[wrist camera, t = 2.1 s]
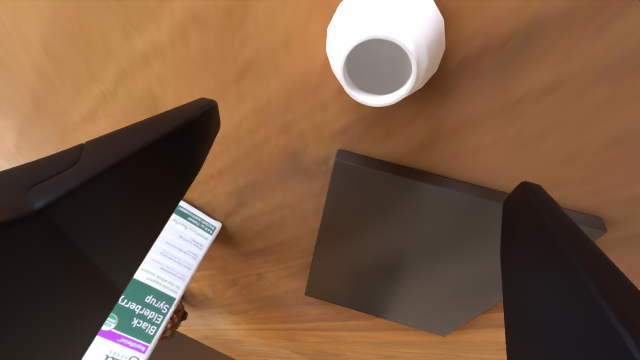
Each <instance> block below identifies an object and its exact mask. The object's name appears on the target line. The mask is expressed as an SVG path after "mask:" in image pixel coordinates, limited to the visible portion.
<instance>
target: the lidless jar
mask: <svg viewBox="0 0 640 360" xmlns="http://www.w3.org/2000/svg"><path fill="white" fill-rule="evenodd" d="M444 50H445V31H444V19H443V17H442V15H441V13H440V12H439V10H438V8H437V6H436V4H435V3H434V1H433V0H344V1H343V2H342V3H341V4H340V5H339V7H338V9H337V11H336V13H335V15H334V17H333V19H332V21H331V23H330V25H329V27H328V33H327V46H326V52H327V55H328V58H329V61H330V64H331V68H332V71H333V73H334V74H335V76H336V77H337V79H338V81H339V82H340V83H341V84H342V86H343V88H344V89H345V91H346V92H347V93H348V94H349V95H350V96H351V97H352V98H353V99H354V100H356V101H358V102H359V103H362V104H364V105H368V106H373V107H383V106H388V105H392V104H394V103H396V102H398V101H400V100H401V99H403V98H404V97H406V96H408V95H410V94H412V93H413V92H415V91H417V90H418V89H420V88H422V87H423V86H424V84H425V83H426V82H427V81H428V80H429V79H430V78H431V77H432V75H433V74H434V73H435V72H436V71H437V70H438V67H439V64H440V61H441V59H442V56H443V53H444Z"/></svg>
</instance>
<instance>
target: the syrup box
mask: <svg viewBox="0 0 640 360" xmlns="http://www.w3.org/2000/svg"><path fill="white" fill-rule="evenodd" d="M221 227H222V223H220V222H219V221H216V220H213V219H212V218H210V217H208V216H207V215H205V214H204V213H202V212H200V211H199V210H197V209H195V208H194V207H192V206H191V205H189V204H187V203H186V202H184V201H182V200H181V202H180V203H179V205H178V207H177V208H176V210H175V211H174V213H173V215H172V216H171V218H170V219H169V221H168V223H167V224H166V226H165V227H164V229H163V231H162V232H161V234H160V235H159V237H158V238H157V240H156V242H155V243H154V245H153V246H152V248H151V250H150V251H149V253H148V254H147V256H146V258H145V259H144V261H143V262H142V264H141V266H140V267H139V269H138V270H137V272H136V274H135V275H134V277H133V278H132V280H131V282H130V283H129V285H128V286H127V288H126V289H125V291H124V293H123V294H121V295H122V296H121V298H120V299H119V301H118V303H117V304H116V306H115V307H114V309H113V311H112V312H111V314H110V315H109V317H108V319H107V320H106V322H105V323H104V325H103V326H102V328H101V330H100V331H99V333H98V334H97V336H96V338H95V339H94V341H93V342H92V344H91V346H90V347H89V349H88V350H87V352H86V354H85V355H84V357H83V358H82V360H148V358H149V356H150V355H151V353H152V351H153V349H154V347H155V346H156V344H157V342H158V340H159V338H160V336H161V334H162V332H163V331H164V329H165V327H166V325H167V323H168V322H169V320H170V318H171V316H172V314H173V312H174V310H175V309H176V307H177V305H178V303H179V301H180V299H181V297H182V296H183V294H184V292H185V290H186V289H187V287H188V285H189V283H190V281H191V279H192V278H193V276H194V274H195V272H196V270H197V269H198V267H199V265H200V263H201V262H202V260H203V258H204V256H205V254H206V253H207V251H208V249H209V248H210V246H211V244H212V243H213V241H214V239H215V238H216V236H217V234H218V232H219V231H220V229H221Z"/></svg>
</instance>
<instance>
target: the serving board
mask: <svg viewBox="0 0 640 360" xmlns="http://www.w3.org/2000/svg"><path fill="white" fill-rule="evenodd" d="M508 195H509V194H507V193H503V192H500V191H496V190H492V189H488V188H484V187H481V186H477V185H473V184H469V183H465V182H461V181H458V180H454V179H450V178H446V177H442V176H439V175H435V174H431V173H427V172H423V171H419V170H416V169H412V168H408V167H404V166H400V165H397V164H393V163H389V162H385V161H381V160H377V159H374V158H370V157H366V156H362V155H358V154H355V153H351V152H347V151H343V150H339V149H338V151H337V154H336V157H335V160H334V165H333V169H332V174H331V178H330V183H329V187H328V192H327V196H326V201H325V206H324V210H323V215H322V219H321V224H320V228H319V233H318V237H317V242H316V246H315V251H314V255H313V260H312V264H311V269H310V273H309V278H308V282H307V287H306V291H305V295H306V296H309V297H313V298H316V299H319V300H323V301H326V302H329V303H333V304H336V305H339V306H343V307H346V308H349V309H353V310H356V311H359V312H363V313H366V314H369V315H373V316H376V317H379V318H383V319H386V320H389V321H393V322H396V323H399V324H403V325H406V326H409V327H413V328H416V329H419V330H423V331H426V332H429V333H433V334H436V335H439V336H443V337H445V336H447V335H448V334H450V333H451V332H453V331H455V330H456V329H458V328H459V327H461V326H462V325H464V324H465V323H467V322H469V321H470V320H472V319H473V318H475V317H476V316H478V315H479V314H481V313H483V312H484V311H486V310H487V309H489V308H490V307H492V306H493V305H495V304H497V303H498V302H500V301H501V300H503V293H502V278H501V263H500V240H501V224H502V208H503V203H504V200H505V199H506V197H507V196H508ZM562 209H563V210H564V211H565V212H566V213H567V214H568V215H569V216H570V217H571V218H572V219H573V220H574V222H575V223H576V224H577V225H578V226H579V227H580V228H581V229H582V230H583V231H584V232H585V233H586V234H587V235H588V236H589V237H590V239H591V240H592V241H595V240H596V239H598V238H599V237H601V236H602V235H604V234H605V233H607V232H608V231H607V229H606V226H605V224H604V222H603V220H602V218H599V217H595V216H591V215H587V214H584V213H580V212H576V211H572V210H568V209H565V208H562Z"/></svg>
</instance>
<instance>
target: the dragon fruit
mask: <svg viewBox="0 0 640 360" xmlns="http://www.w3.org/2000/svg"><path fill="white" fill-rule="evenodd" d="M187 316H188V313H187V312H186V311H185V310H184V306H183V304H182V302H181V299H180V301H179V303H178V305H177V307H176V309H175V310H174V312H173V314H172V316H171V318H170V320H169V322H168V323H167V325H166V327H165V329H164V331H163V332H162V334H161V336H160V338H159V340H160V339H162V340H170V339H172V338H173V337H174V335H175V330H176V329H178V327H180V324H181V322H182V321H184V320H186V319H187ZM159 340H158V341H159Z"/></svg>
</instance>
